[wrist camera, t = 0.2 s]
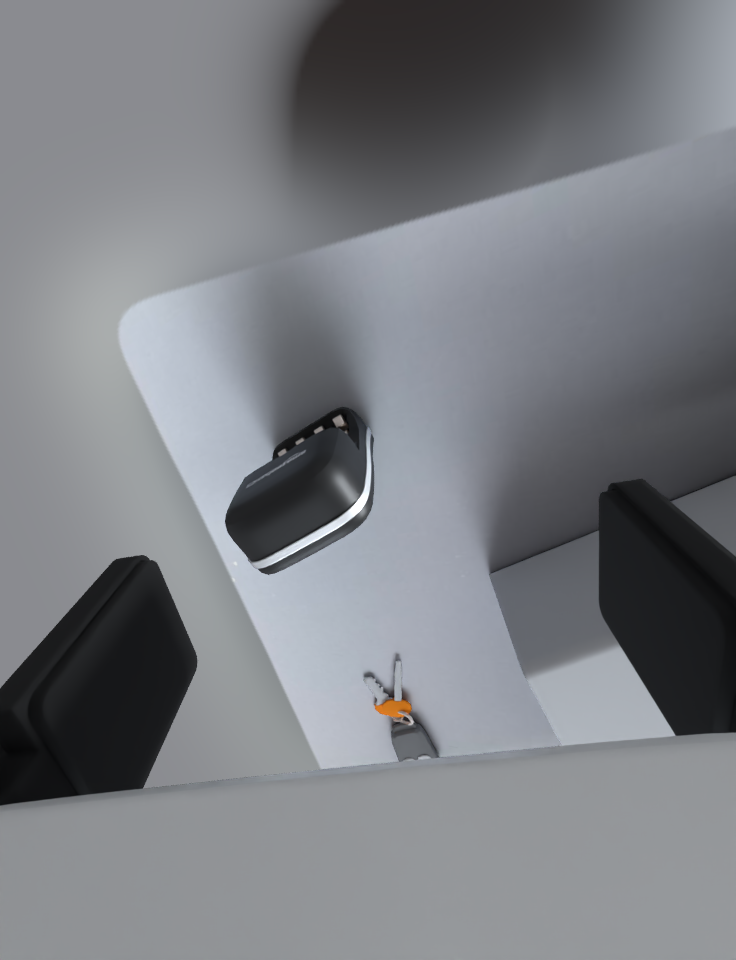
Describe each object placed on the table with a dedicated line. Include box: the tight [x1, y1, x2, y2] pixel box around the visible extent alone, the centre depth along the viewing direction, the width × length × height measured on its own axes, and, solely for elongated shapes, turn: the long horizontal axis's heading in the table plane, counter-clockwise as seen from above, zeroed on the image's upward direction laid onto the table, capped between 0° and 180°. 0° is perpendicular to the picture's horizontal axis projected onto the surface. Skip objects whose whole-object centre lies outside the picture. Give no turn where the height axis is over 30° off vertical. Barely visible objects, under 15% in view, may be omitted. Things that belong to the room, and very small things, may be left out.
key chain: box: [363, 660, 439, 762], centre depth 42 cm, size 13×4×2 cm, turn 20°
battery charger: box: [225, 407, 374, 575], centre depth 27 cm, size 7×4×11 cm, turn 122°
